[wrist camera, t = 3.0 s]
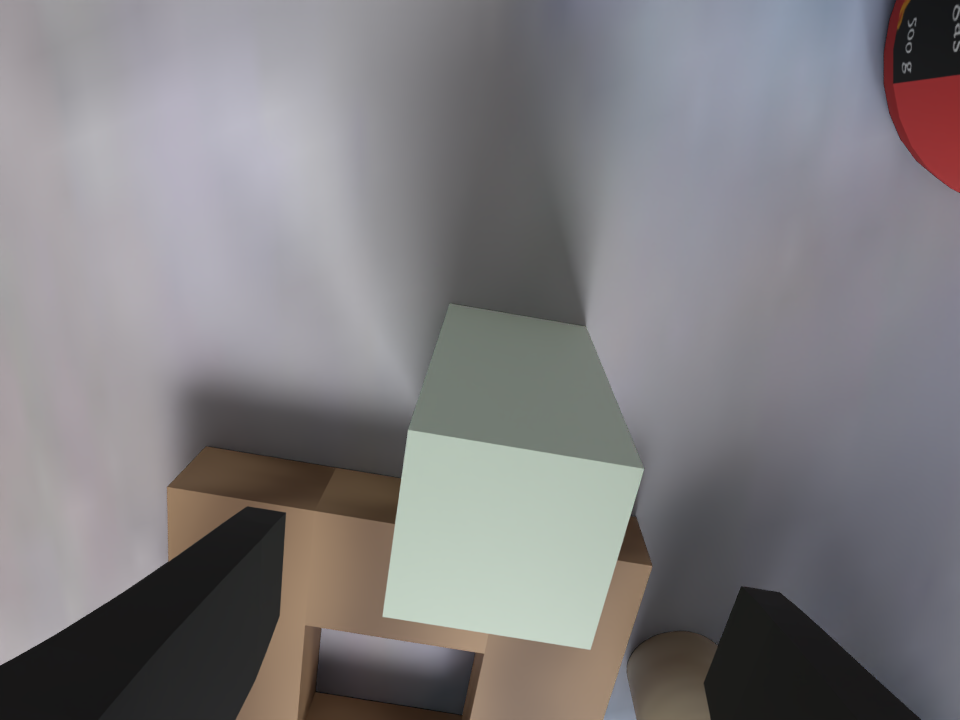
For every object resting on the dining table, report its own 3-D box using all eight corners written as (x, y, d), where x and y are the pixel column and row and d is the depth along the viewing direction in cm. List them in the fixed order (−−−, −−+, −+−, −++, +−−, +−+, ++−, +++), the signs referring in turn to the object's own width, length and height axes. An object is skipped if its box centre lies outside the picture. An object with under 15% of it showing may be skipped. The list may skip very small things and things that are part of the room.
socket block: (636, 516, 20) (652, 566, 18) (548, 806, 25) (553, 873, 23) (206, 446, 20) (167, 486, 17) (203, 752, 25) (173, 815, 22)
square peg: (586, 326, 18) (644, 469, 10) (557, 447, 19) (590, 649, 12) (449, 303, 18) (407, 429, 10) (430, 426, 19) (382, 616, 12)
